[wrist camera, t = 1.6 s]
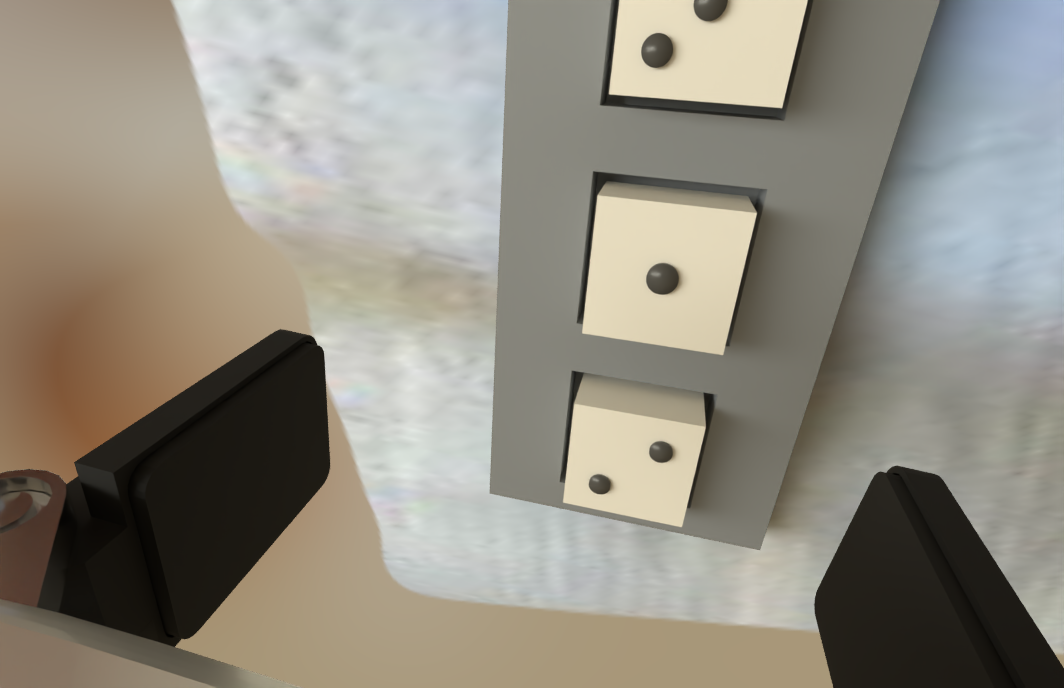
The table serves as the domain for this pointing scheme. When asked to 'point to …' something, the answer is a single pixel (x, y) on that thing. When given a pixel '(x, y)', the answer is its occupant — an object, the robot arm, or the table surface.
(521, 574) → the table surface
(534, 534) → the table surface
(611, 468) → the tile two
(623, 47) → the tile three
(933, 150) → the table surface
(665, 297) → the tile one
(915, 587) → the robot arm
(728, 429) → the tile board
